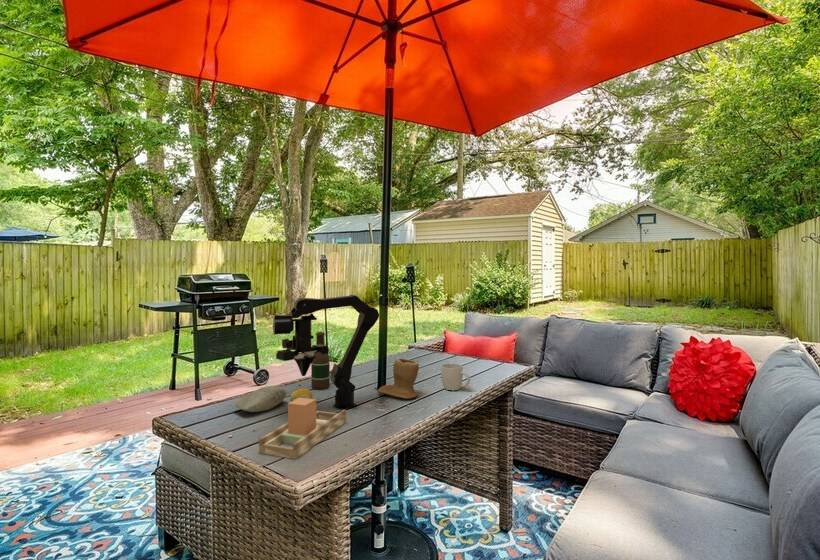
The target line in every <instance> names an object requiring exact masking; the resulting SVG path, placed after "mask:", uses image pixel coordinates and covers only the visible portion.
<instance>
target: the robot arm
mask: <svg viewBox="0 0 820 560" xmlns="http://www.w3.org/2000/svg"><path fill="white" fill-rule="evenodd" d="M344 307H345V308H346V307H352V308H353V309H354V310H355V312H357V313H358V318H357V323H356V324H357V325H356V328H355V330H354V333H353V335H352V336H351V339H350V341H349V344H348V346H347V347H346V349H345V352H344V355H343V357H342V359H341V360H340V362H339V363H333V367H332V369H331V370H330V382H331V384H333V385H334V386H335V388H336V389H335V395H334V404H333V405H332V406H333V407H335V408H338V409H341V410H348V409H350V408H354V407H357V406H358V405H357V403H355V390H356V385H354V384H353V382H351V377H352V369H353V365H354V363H355V360H356V358H357V356H358V355H359V351H360V350H361V347H362V345H363V343H364V341H365V338H366V337H367V335H368V332H369V331H370V330H371V329H372V328H373V327H374V326H375V324H376V323H377V321H378V320H379V317H380V313H379V310H378V309H377V308H375V307H372V306H369V305H368V303H366V302H365V301H363V300H361V298H359V296H358V295H355V294H349V295H343V296H341V295H340V296H335V297H326V298H315V297H314V298H311V297H297V298H296V300H295V301H294V303H293V308H291V310H290V312H289V313H288V314H282V315H280V314H274V315H273V323H272V332H273V335H274V336H275V335H276V336H277V335H288V334H289V335H290V334H291V332H293V331H294V334H293V335H292V339H289V338H284V339H282V340H281V346H282V350H277V352H276V354H275V359H276V360H279V361H283V362H287V361H293V360H294V361H295V362H296V364H297V367H298V370H299V372H300V375H301V376H302V377H305V376H306V375H307V373H308V371H309V368H311V363H312V361H313V359H314V358H316V356H314V353H316V352H320V353H321V354H329V353H330V349H329V348H330V347H328V345H326V344H325V345H322V344H318V345H316V344H312V340H314V335H312V321H317V320H318V318H317V317H316V316H315V315H314V313H316V312H318V311H321V310H326V309H328V310H329V309H335V308H344Z"/></svg>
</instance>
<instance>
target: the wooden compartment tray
mask: <svg viewBox="0 0 820 560" xmlns="http://www.w3.org/2000/svg"><path fill="white" fill-rule="evenodd" d="M346 422H347V409H341V410H340V411H339V412H330V411H329V412H328V411H321V410H318V406H316V429H314V430H313V431H311V432H310V433H308V434H307V435H300V434H293V433H288V421H287V422H286V423H284V424H282V425H281V426H279V427H277V428H275V429H274V430H272V431H270V432H268V433H267V434H266V435H265V434H264V436H262V437H260V438H259V439H258V453H259V454H263V455H268V456H272V457H273V456H275V457H280V458H281V457H282V458H286V459H293V460H297V459H298V458H300V457H301V456H302V455H303V454H304V453H306V452H307V451H309V450H311V449H312V448H313V447H314V446H316V445H317V444H318V443H320V442H321V441H322V440H324V439H325V438H326V437H327V436H329V435H330V434H331V433H333V432H334V431H335V430H336V429H338V428H340V427H341V426H342V425H344V424H345V423H346ZM281 444H285V445H292V446H291V447H289V446H284V445H283V446H282V445H281Z"/></svg>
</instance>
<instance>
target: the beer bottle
mask: <svg viewBox="0 0 820 560" xmlns="http://www.w3.org/2000/svg"><path fill="white" fill-rule="evenodd" d="M325 335H326V334H325V331H320V332H319V331H318V332H316V334H315V337H316V341H315V342H316V344H315V345H318V344H322V345H326V344H325ZM314 356H316V358H314V359H313V361H312V363H311V365H310V368H311V372H310V373H311V377H310V378H311V389H312V390H314V391H325V390H328V389H329V387H330V384H331V383H330V382H331V379H330V375H331V374H330V372H331V370H330V369H331V367H330V366H331V365H330V364H331V363H330V356H329V353H327V354H321V353H320V352H316V353H314Z"/></svg>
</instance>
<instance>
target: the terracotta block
mask: <svg viewBox="0 0 820 560" xmlns="http://www.w3.org/2000/svg"><path fill="white" fill-rule="evenodd" d="M316 407H317V399H314V398H311V399H308V398H297V399H295V400H293V401H292V400H291V401H290V402H288V403H287V422H288V433H293V434H300V435H307V434H308V433H310V432H311V431H313V430H314V429H316Z"/></svg>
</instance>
